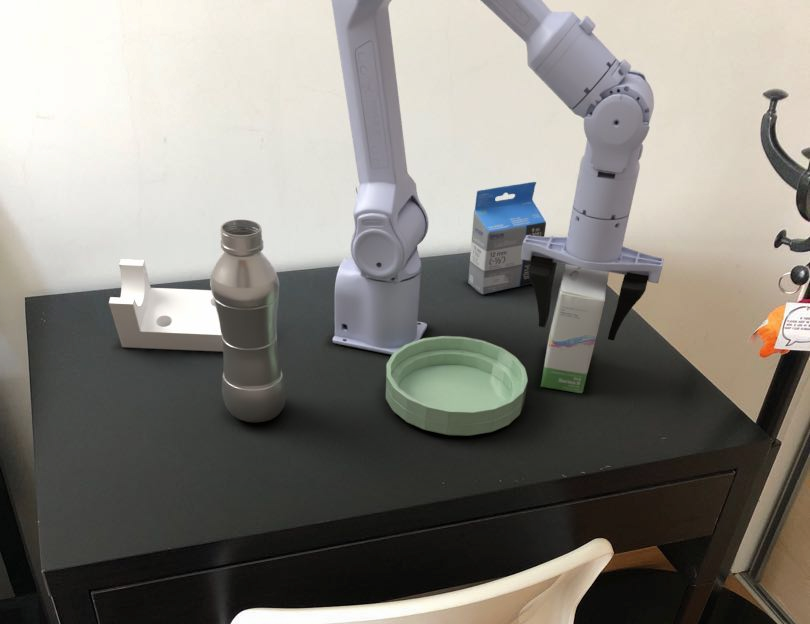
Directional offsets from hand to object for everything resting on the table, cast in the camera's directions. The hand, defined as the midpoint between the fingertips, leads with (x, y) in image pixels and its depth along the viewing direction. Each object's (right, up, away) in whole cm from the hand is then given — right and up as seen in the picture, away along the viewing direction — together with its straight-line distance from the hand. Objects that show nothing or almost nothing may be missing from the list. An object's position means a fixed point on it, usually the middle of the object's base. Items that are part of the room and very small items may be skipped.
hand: (577, 329), depth 100 cm
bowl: (-14, -8, -1) cm, 16 cm away
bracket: (-45, 0, +6) cm, 45 cm away
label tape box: (-6, +10, +20) cm, 23 cm away
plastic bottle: (-35, -10, -5) cm, 37 cm away
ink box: (-1, -4, +4) cm, 6 cm away
